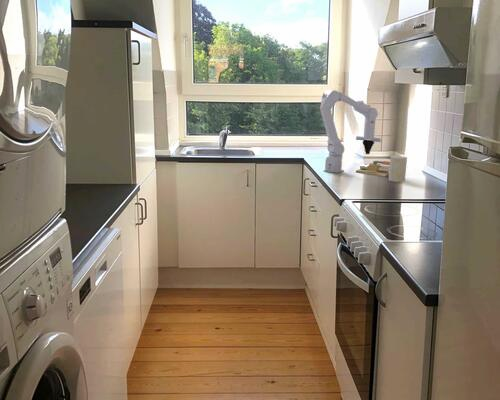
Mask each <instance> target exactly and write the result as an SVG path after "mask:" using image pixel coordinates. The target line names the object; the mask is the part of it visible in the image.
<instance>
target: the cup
mask: <svg viewBox="0 0 500 400" xmlns="http://www.w3.org/2000/svg"><path fill="white" fill-rule="evenodd" d="M407 161H408V157H407V156H400V155H391V156H390V158H389V162H390V165H389V175H388V181H390V182H396V183H403V182H406V174H407V164H408V163H407Z"/></svg>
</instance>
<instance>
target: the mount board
mask: <svg viewBox="0 0 500 400" xmlns="http://www.w3.org/2000/svg"><path fill="white" fill-rule="evenodd" d="M355 173H359V174H364V175H365V174H366V175H374V176H380V177H389V173H385V172H373V171H367V170H362V169H360V168H359V169H356V170H355Z"/></svg>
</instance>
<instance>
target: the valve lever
mask: <svg viewBox="0 0 500 400" xmlns="http://www.w3.org/2000/svg"><path fill="white" fill-rule="evenodd" d="M372 163H373V164H381V165H382V166H383V165H385V166H390V161H386V160H384V161H381V160H372Z"/></svg>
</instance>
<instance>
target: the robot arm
mask: <svg viewBox="0 0 500 400" xmlns="http://www.w3.org/2000/svg"><path fill="white" fill-rule="evenodd" d="M320 102H321V103H320V106H319V111H320V114H321V116H322V120H323V124H324V128H325V131H326V136H327V138H328V139H327V151H328V156H327V157H326V158H325V164H324V165H325V166H324V170H323V172H326V173H327V172H328V173H334V172H335V173H334V174H336V173H341V172H344V171H345V170H344V169H342V165H343V163H342V162H343V161H342V160H343V159H342V158H343V154H344V152H345V146H344V145H343V144H342V141H341V140H340V138H339V135H338V132H337V129H336V126H335V125H336V124H335V121H334V118H333V113H332V110H331V109H332V108H333V106H334V105H335V104H336V103H338V102H343V103H345V104H347V105H349V106H351V107H352V108H353V110H354V111H355V112H357V113H359V114H361V115H362V116H363V117H364V125H363V126H364V128H363V136H360V135H359V136H356V137H355V141H356V140H357V141H362V145H363V147H364V152H365V155H370V153H371V151H372V148H373V146H374V144H375V142H376V143H382V140H383V139H382V138H381V137H375V129H376V119H377V117H378V115H379V113H378V110H377V108H375V107H371V105H370V104H366V102H364V101H363V100H354V99H353V98H351V97H350V96H348V95H346V94H345V93H343V92H341V91H338V90H335V89H334V90H331V89H326V90H325V91H324V92H323V93H322V95H321V101H320Z"/></svg>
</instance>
